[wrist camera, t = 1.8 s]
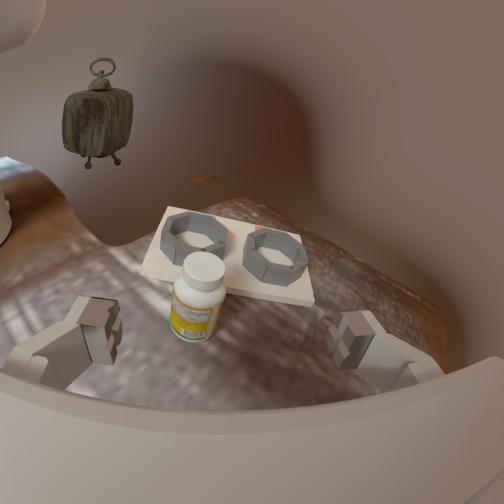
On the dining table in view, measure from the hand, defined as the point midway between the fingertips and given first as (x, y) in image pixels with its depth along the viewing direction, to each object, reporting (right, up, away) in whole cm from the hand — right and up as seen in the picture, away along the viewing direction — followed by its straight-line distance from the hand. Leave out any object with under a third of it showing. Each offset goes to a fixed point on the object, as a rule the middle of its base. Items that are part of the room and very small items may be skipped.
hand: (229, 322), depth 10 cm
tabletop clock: (-35, +22, +44) cm, 60 cm away
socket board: (-2, +2, +33) cm, 33 cm away
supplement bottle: (-6, -6, +22) cm, 23 cm away
